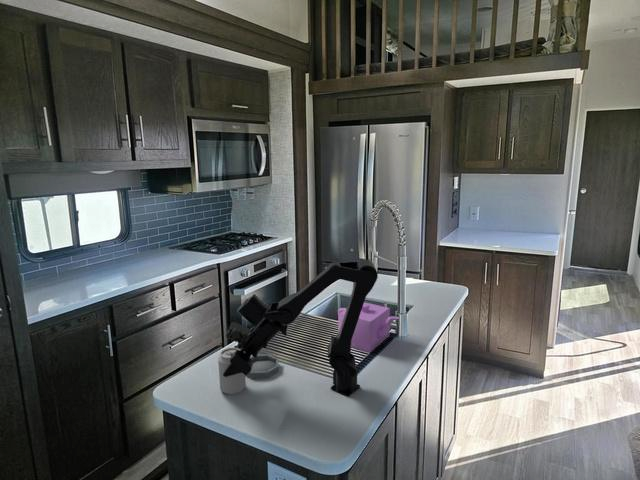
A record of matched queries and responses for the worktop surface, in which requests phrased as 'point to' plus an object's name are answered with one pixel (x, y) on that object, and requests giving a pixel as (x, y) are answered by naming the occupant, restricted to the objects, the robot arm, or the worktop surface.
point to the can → (232, 382)
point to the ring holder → (263, 366)
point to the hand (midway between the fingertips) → (227, 368)
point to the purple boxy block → (369, 326)
